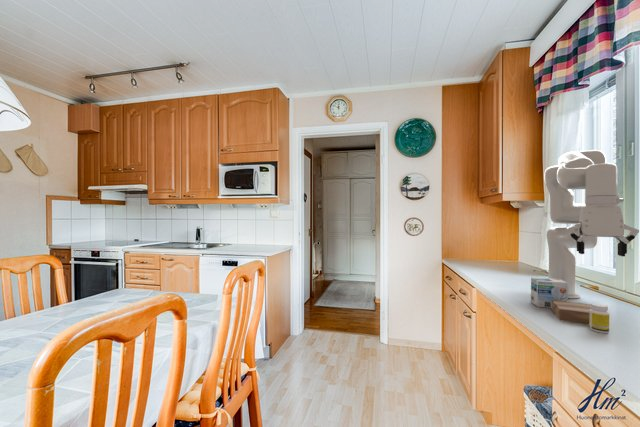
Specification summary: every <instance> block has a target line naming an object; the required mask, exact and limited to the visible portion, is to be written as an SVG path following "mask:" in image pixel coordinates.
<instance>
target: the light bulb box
mask: <svg viewBox="0 0 640 427" xmlns="http://www.w3.org/2000/svg"><path fill="white" fill-rule="evenodd" d="M530 279H531V280H530V281H531V282H530V303H532V304H533V305H535V306H536V307H538V308H539V307H540V308H546V309H547V308H549V309H552V300H557V301H566V302H568V299H569V298H568V283H567V282H565V281H562V280H560V279H549V277H546V278H545V277H533V276H532V277H531V278H530Z"/></svg>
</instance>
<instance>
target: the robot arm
mask: <svg viewBox="0 0 640 427" xmlns="http://www.w3.org/2000/svg"><path fill="white" fill-rule="evenodd" d="M557 164H558V165H553V166H549V167H547V168H546V169H545V171H544V177H543V179H544V183H545V186H546V189H547V190H548V193H549V213H550V215H549V216H550V220H551V222H553V223H554V224H557V225H570V226H554V227H551V228H549V229H548V230H547V231H546V242H547V249H548V278H549V279H560V280H562V281H565V282H567V283H568V298H567V299H579V298H580V297H581V294H580V293H577V292H576V265H577V264H576V263H577V262H576V257H575V255H574V254H573V252H571V251H570V249H576V252H578V254H579V255H584V254H585V249H590V250H591V249H593V248H595V247H596V246H597V244H598V238H599V237H601V238H615V239H616V240H617V241H618V243H617V255H618V257H626V255H627V254H628V244H630V242H632V241H633V240H634V239H635V238H636V237H637V235H638V233H640V230H639V229H638V228H635V227H633V226H630V225H627V224H625V221H624V215H623V212H622V208H621V206H620V205H619V204H620V203H624V198H621V197H619V196H618V166H617V165H616V164H615V163H613V162H612V163H610V162H607V158H606V154H605V152H603V151H602V150H600V149H589V150H588V149H587V150H577V151H570V152H566V153H565V152H564V154H562V155H561V156H560V157H559V158H558V162H557ZM572 190H584V203H575V201H574V192H573V191H572ZM571 225H572V226H571ZM625 230H626V231H628V232H629V233H628V235H626V236H624V235H625Z"/></svg>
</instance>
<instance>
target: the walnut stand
mask: <svg viewBox="0 0 640 427" xmlns="http://www.w3.org/2000/svg"><path fill="white" fill-rule="evenodd" d="M590 309H592V308H591V303H580V302H572V301H567V302H566V301H557V300H552V308H551V312H552V313H553V314H554V315H555V316H556V317H557V319H558V320H559V321H562V320H563V322H570V323H577V324H583V325H584V324H585V325H589V310H590Z"/></svg>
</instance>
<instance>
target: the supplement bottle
mask: <svg viewBox="0 0 640 427" xmlns="http://www.w3.org/2000/svg"><path fill="white" fill-rule="evenodd" d="M590 304H591V308H592V309H590V310H589V324H588V328H589V330H591V331H593V332H597V333H601V334H608V333H610V313H609V311H608V310H609V309H608V308H609V306H608V305H606V304H604V303H597V302H591V303H590Z"/></svg>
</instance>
